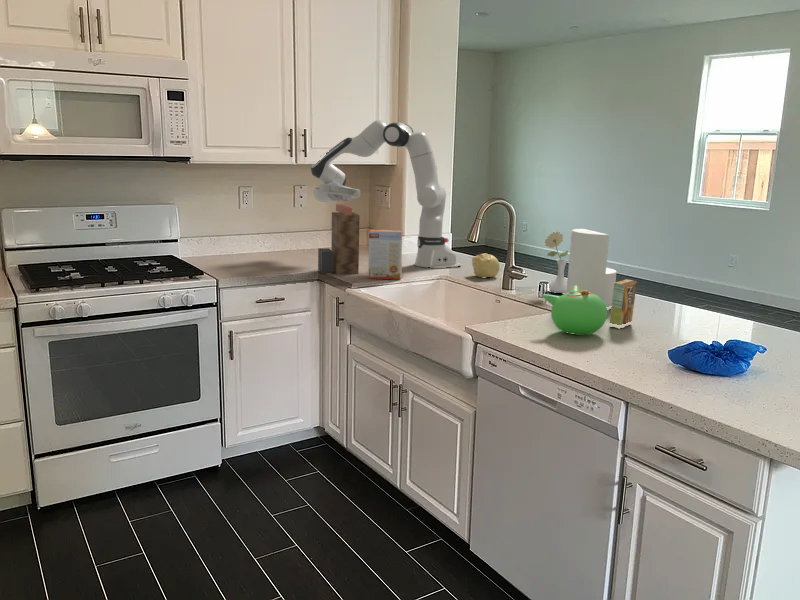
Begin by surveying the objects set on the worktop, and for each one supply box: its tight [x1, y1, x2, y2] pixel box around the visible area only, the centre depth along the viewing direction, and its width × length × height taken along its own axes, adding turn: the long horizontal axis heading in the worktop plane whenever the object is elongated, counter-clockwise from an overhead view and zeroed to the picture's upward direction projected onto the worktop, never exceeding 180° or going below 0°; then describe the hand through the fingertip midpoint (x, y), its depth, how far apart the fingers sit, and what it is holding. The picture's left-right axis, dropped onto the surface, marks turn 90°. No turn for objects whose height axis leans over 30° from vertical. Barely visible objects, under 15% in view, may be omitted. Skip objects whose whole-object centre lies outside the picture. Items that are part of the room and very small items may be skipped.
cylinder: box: [566, 228, 617, 307], centre depth 251 cm, size 17×17×28 cm
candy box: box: [609, 278, 638, 325], centre depth 224 cm, size 9×4×15 cm, turn 137°
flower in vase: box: [544, 231, 569, 293], centre depth 271 cm, size 13×11×25 cm
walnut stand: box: [330, 211, 360, 275], centre depth 303 cm, size 10×12×26 cm
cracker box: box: [368, 229, 403, 281], centre depth 290 cm, size 14×6×21 cm, turn 84°
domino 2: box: [318, 249, 331, 273], centre depth 301 cm, size 5×2×10 cm, turn 107°
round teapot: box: [541, 285, 608, 335], centre depth 213 cm, size 18×17×15 cm
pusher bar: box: [335, 203, 353, 215], centre depth 303 cm, size 3×20×3 cm, turn 16°
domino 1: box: [317, 247, 331, 270], centre depth 305 cm, size 5×2×10 cm, turn 107°
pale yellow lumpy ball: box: [471, 252, 500, 278], centre depth 302 cm, size 12×12×11 cm
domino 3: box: [320, 251, 334, 275], centre depth 298 cm, size 5×2×10 cm, turn 107°
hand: (346, 189), depth 313 cm, fingers open, 8 cm apart
